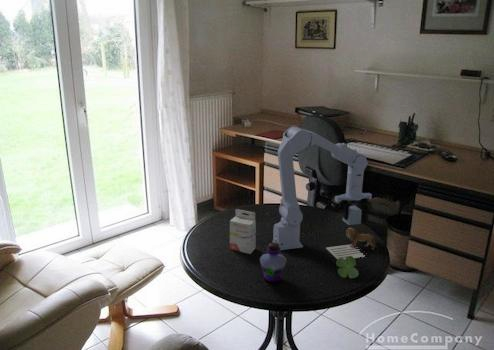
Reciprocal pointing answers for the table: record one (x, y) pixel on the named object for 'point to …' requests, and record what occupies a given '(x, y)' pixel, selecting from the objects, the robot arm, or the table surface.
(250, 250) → the ink cartridge box
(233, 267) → the table surface
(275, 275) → the potion bottle
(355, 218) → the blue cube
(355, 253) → the white slatted trivet
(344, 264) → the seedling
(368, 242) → the lion figurine
